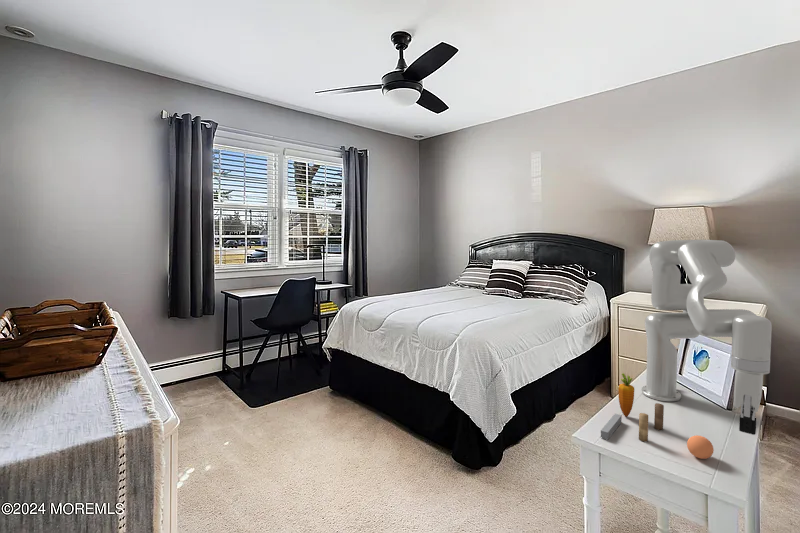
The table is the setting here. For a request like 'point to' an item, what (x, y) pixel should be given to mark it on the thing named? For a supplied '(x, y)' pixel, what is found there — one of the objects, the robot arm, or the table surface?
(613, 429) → the back wall
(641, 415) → the oak pin
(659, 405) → the walnut pin
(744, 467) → the table surface
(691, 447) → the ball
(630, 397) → the carrot
